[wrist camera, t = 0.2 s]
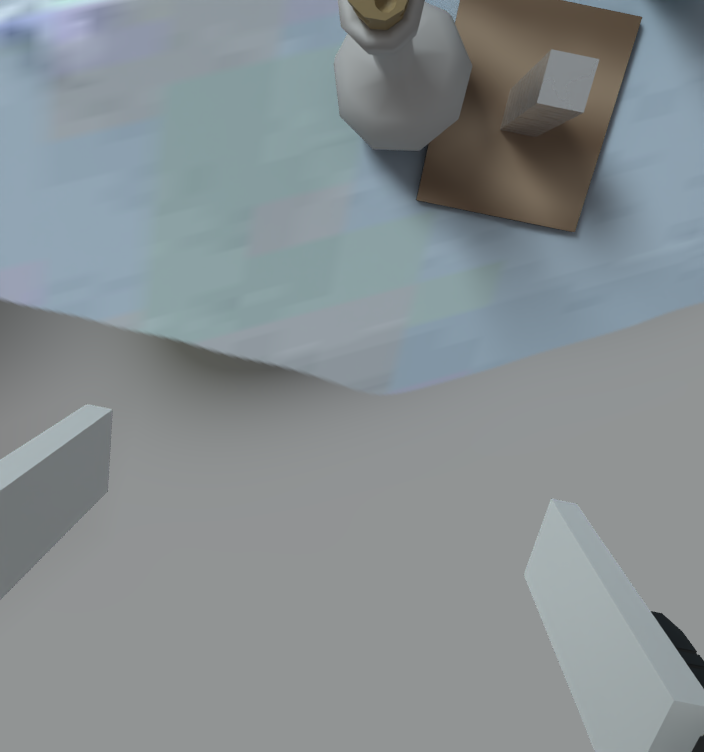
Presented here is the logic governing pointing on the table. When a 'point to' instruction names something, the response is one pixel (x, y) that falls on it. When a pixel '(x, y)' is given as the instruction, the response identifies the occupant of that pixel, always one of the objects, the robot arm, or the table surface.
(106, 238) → the table surface
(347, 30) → the potion bottle
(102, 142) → the table surface
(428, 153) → the board
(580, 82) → the post
